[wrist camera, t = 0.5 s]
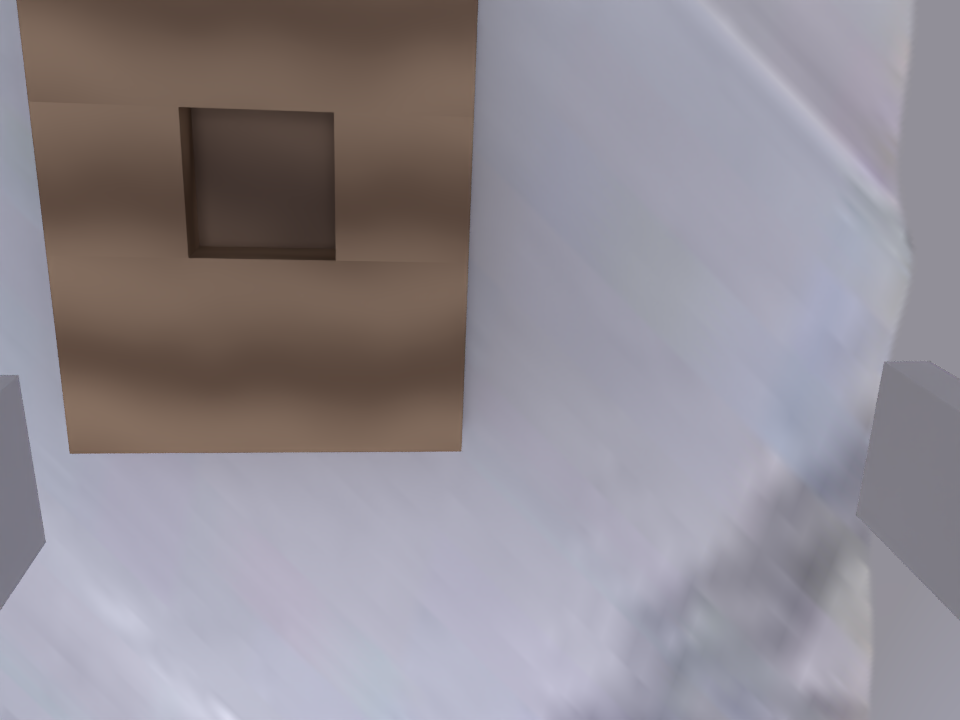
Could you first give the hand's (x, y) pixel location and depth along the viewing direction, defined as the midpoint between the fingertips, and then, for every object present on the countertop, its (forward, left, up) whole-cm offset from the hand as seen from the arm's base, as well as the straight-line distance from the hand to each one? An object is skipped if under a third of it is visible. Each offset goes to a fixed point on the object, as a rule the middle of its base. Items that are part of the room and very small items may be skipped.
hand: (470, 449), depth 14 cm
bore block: (-1, -6, -25) cm, 26 cm away
